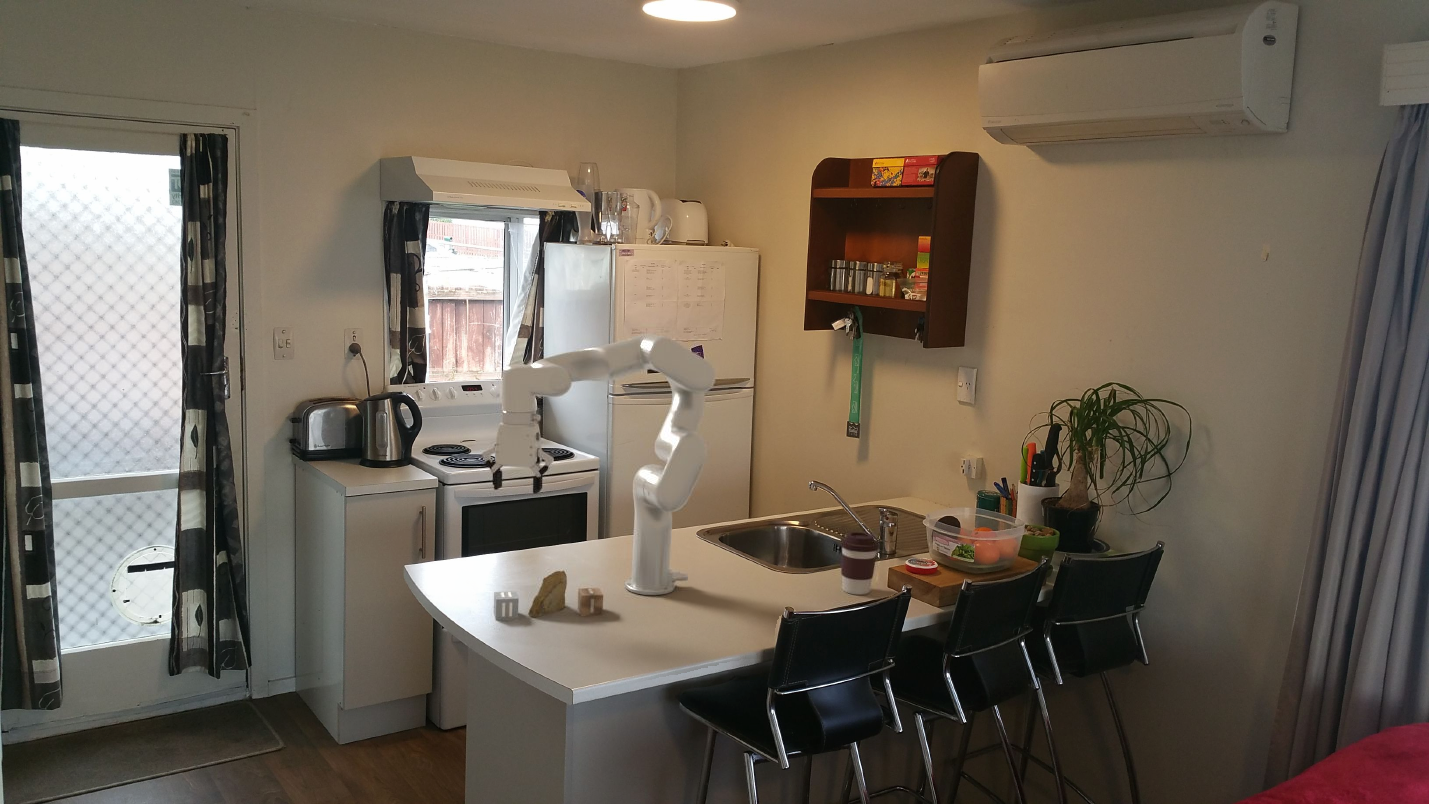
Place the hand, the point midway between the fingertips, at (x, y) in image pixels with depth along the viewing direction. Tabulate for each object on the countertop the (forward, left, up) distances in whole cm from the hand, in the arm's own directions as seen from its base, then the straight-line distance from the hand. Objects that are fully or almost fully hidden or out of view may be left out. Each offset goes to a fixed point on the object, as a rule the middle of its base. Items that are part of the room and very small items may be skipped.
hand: (517, 490), depth 242 cm
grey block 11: (+3, +7, -28) cm, 29 cm away
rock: (-7, +5, -28) cm, 29 cm away
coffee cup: (-88, +1, -28) cm, 92 cm away
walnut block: (-17, +7, -28) cm, 33 cm away
